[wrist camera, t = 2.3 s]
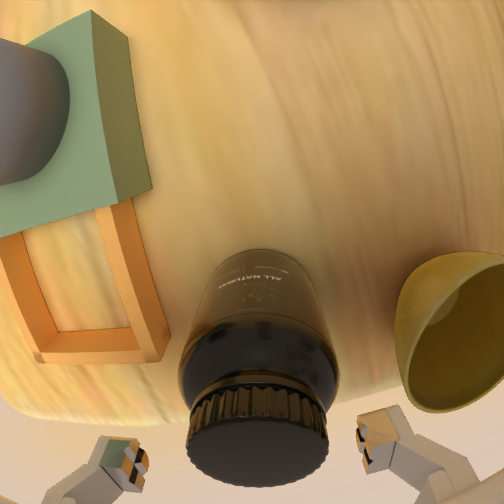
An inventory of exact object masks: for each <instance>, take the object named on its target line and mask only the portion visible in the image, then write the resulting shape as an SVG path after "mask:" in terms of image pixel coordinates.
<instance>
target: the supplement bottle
mask: <svg viewBox="0 0 504 504" xmlns="http://www.w3.org/2000/svg"><path fill="white" fill-rule="evenodd" d="M339 382H340V371H339V366H338V361H337V357H336V354H335V351H334V347H333V344H332V341H331V338H330V335H329V332H328V329H327V326H326V323H325V320H324V317H323V314H322V311H321V308H320V305H319V302H318V299H317V296H316V293H315V290H314V288H313V285H312V282H311V280H310V278H309V277H308V275H307V273H306V272H305V271H304V269H303V268H302V267H301V266H300V265H299V264H298V263H296V262H295V261H294V260H292V259H291V258H289V257H287V256H285V255H283V254H280V253H277V252H274V251H268V250H252V251H247V252H243V253H240V254H237V255H235V256H233V257H231V258H229V259H228V260H226V261H225V262H224V263H222V264H221V265H220V266H219V267H218V269H217V270H216V271H215V272H214V274H213V275H212V277H211V279H210V281H209V283H208V285H207V288H206V290H205V293H204V295H203V298H202V301H201V303H200V306H199V309H198V312H197V314H196V317H195V320H194V323H193V325H192V328H191V331H190V334H189V336H188V339H187V342H186V345H185V348H184V350H183V353H182V356H181V360H180V364H179V368H178V384H179V389H180V392H181V395H182V398H183V400H184V402H185V404H186V406H187V407H188V409H189V410H190V412H191V414H190V426H189V431H188V435H187V441H186V449H187V455H188V457H189V458H190V459H191V462H192V463H193V464H194V465H195V466H196V468H197V469H199V470H201V471H202V472H203V473H204V474H206V475H208V476H210V477H212V478H213V479H216V480H220V481H222V482H224V483H228V484H232V485H235V486H244V487H258V488H261V487H274V486H280V485H285V484H288V483H293V482H296V481H297V480H300V479H303V478H305V477H306V476H307V475H310V474H312V473H313V472H314V471H315V470H316V469H318V468H320V466H321V464H322V463H323V462H324V461H325V458H326V456H327V455H328V451H329V450H328V447H329V440H328V435H327V429H326V423H327V421H326V413H327V411H328V410H329V408H330V407H331V405H332V403H333V402H334V400H335V397H336V395H337V392H338V388H339Z"/></svg>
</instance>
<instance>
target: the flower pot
mask: <svg viewBox="0 0 504 504" xmlns="http://www.w3.org/2000/svg"><path fill="white" fill-rule="evenodd" d="M395 347H396V355H397V361H398V366H399V371H400V375H401V379H402V382H403V386H404V389H405V392H406V394H407V397H408V399H409V400H410V402H411V403H412V404H413V405H414V406H415V407H416V408H418V409H420V410H422V411H425V412H428V413H446V412H451V411H455V410H458V409H461V408H463V407H465V406H468V405H470V404H472V403H473V402H475V401H477V400H479V399H480V398H482V397H483V396H485V395H486V394H487V393H488V392H490V391H491V390H492V389H493V388H495V387H496V386H497V385H498V384H499V383H500V382H501V381H502V380H503V379H504V256H503V255H499V254H494V253H487V252H457V253H451V254H446V255H442V256H438V257H436V258H433V259H431V260H429V261H427V262H425V263H423V264H422V265H420V266H419V267H417V268H416V269H415V270H414V271H413V272H412V273H411V274H410V275H409V276H408V278H407V279H406V281H405V283H404V285H403V287H402V289H401V292H400V295H399V299H398V303H397V307H396V315H395Z"/></svg>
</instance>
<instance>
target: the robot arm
mask: <svg viewBox="0 0 504 504" xmlns="http://www.w3.org/2000/svg"><path fill="white" fill-rule="evenodd" d="M357 424H358V428H357V430H356V439H357V440H356V441H357V445H358V449H359V452H360V453H362V454H363V460H362V461H363V465H364V468H365V471H366V474H371V473H375V472H378V471H382V470H386V469H389V470H390V471H392V472H393V473H394V474H396V475H397V476H399V477H400V478H401V479H403V480H404V481H406V482H407V483H408V484H410V485H411V486H413V487H414V488H415V489H417V490H418V491H420V494H419V496H418V498H417V500H416V502H415V503H414V504H504V468H503V469H502V470H500V471H498V472H497V473H495V474H493V475H492V476H490V477H488V478H487V479H485V480H483V481H481V482H480V481H479V479H478V477H477V475H476V473H475V472H474V470H473V468H472V466H471V464H470V463H469V461H468V459H467V458H466V457H465V456H463V455H460V454H458V453H456V452H454V451H452V450H450V449H448V448H446V447H443V446H442V445H439V444H437V443H435V442H433V441H431V440H429V439H427V438H425V437H423V436H421V435H419V434H416V435H414V433H413V431H412V429H411V427H410V425H409V423H408V421H407V419H406V417H405V416H404V414H403V412H402V410H401V408H400V406H399V405H393V406H390V407H387V408H382V409H379V410H376V411H372V412H368V413H365V414H362V415H358V416H357ZM139 445H140V443H139V442H138V440H137V439H134V438H123V437H112V436H101V437H99V439H98V441H97V443H96V446H95V448H94V450H93V452H92V455H91V457H90V459H89V462H88V464H84V465H82V466H81V467H80V468H79V469H77V470H76V471H74V472H73V473H71V474H70V475H68V476H67V477H66V478H64V479H63V480H61V481H60V482H59V483H57V484H56V485H54V486H53V487H51V488H50V489H48V490H47V492H46V494H45V496H44V499H43V501H42V503H41V504H112V503H113V502H114V501H115V500H116V499H117V498H118V497H119V496H120V495H121V494H122V493H123V491H127V492H137V493H142V490H143V486H144V483H145V479H144V477H143V475H144V474H145V473H146V472H147V471H148V467H149V461H148V460H149V459H148V456H147V454H146V452H145V451H144V450H143V449H141V448H140V447H139ZM0 504H18V503H16V502H14V501H11V500H9V499H7V498H5V497H3V496H1V495H0Z"/></svg>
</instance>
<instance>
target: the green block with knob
mask: <svg viewBox="0 0 504 504" xmlns="http://www.w3.org/2000/svg"><path fill="white" fill-rule="evenodd" d="M149 189H152V184H151V180H150V175H149V170H148V165H147V160H146V155H145V150H144V145H143V140H142V134H141V129H140V123H139V117H138V111H137V105H136V99H135V92H134V86H133V79H132V71H131V64H130V56H129V48H128V39H127V36H126V35H124V34H123V33H122V32H120V31H119V30H118V29H116V28H115V27H114V26H112V25H111V24H110V23H108V22H107V21H106V20H104V19H103V18H102V17H100V16H99V15H98V14H96V13H95V12H93V11H92V10H89V11H87V12H85V13H83V14H81V15H79V16H77V17H75V18H72V19H70V20H69V21H67V22H65V23H63V24H61V25H59V26H57V27H55V28H53V29H52V30H50V31H48V32H46V33H45V34H43V35H41V36H39V37H38V38H36V39H34V40H33V41H31V42H29V43H28V44H26V45H25V46H24V45H21V44H18V43H15V42H11V41H8V40H5V39H1V38H0V238H2V237H5V236H8V235H11V234H14V233H17V232H20V231H23V230H26V229H29V228H32V227H36V226H39V225H42V224H45V223H49V222H52V221H55V220H59V219H62V218H66V217H69V216H72V215H76V214H80V213H83V212H87V211H91V210H94V209H98V208H102V207H106V206H109V205H113V204H117V203H120V202H122V201H124V200H127V199H129V198H131V197H133V196H136V195H138V194H140V193H142V192H145V191H147V190H149Z"/></svg>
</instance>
